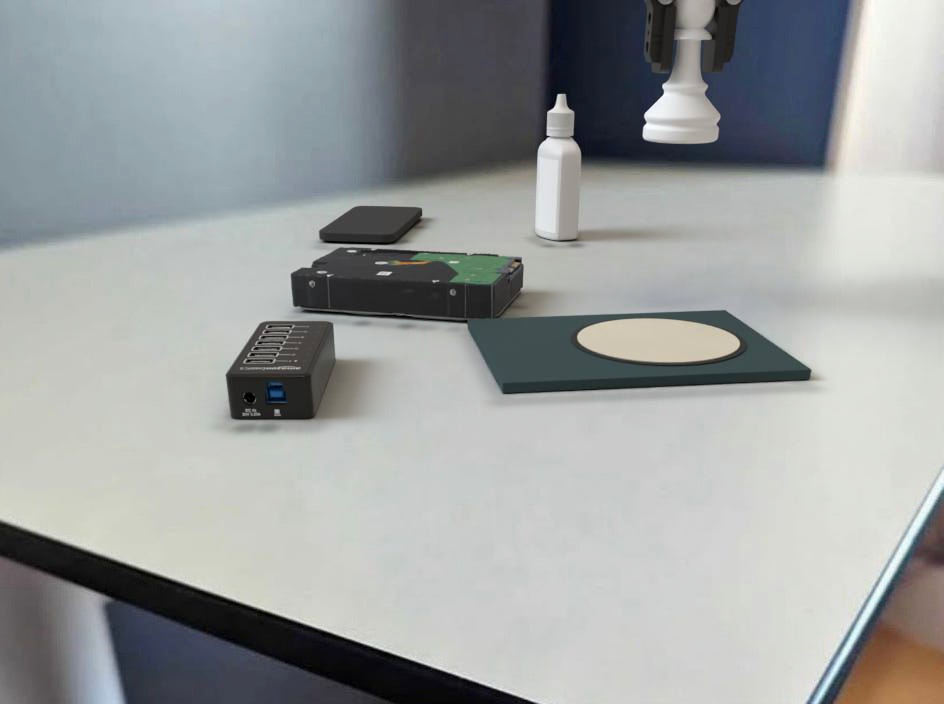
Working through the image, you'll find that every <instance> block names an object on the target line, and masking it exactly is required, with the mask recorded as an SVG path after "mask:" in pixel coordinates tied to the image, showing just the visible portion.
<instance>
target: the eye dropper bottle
mask: <svg viewBox="0 0 944 704" xmlns="http://www.w3.org/2000/svg"><path fill="white" fill-rule="evenodd" d="M567 102H568V101H567V94H566V93H558V94H557V96H556V101H555V104H554V107H553V108H551V109H550V110H548V111H547V114H546V136H548V137H546V139H545V140H543V141H542V142H541V143H540V145H539V147H538V149H537V156H536V157H537V160H536V182H535V183H536V187H535V188H536V189H535V191H536V192H535V213H534V214H535V216H534V217H535V219H534V231H535V233H536V235H537V236H539V237H541V238H543V239H546V240H551V241H573V240H576V239H577V237H578V234H579V233H578V232H579V217H580V214H579V213H580V197H581V194H580V193H581V177H582V176H581V175H582V174H581V173H582V152H581V148H580V147H579V144H578V143H577V141H575V140H574V138H573V136H574V133H575V132H574V128H575V111H574V110H573V109H570V107H568V103H567Z"/></svg>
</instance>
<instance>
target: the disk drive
mask: <svg viewBox="0 0 944 704" xmlns="http://www.w3.org/2000/svg"><path fill="white" fill-rule="evenodd" d="M522 261H523V257H522V256H511V255H499V254H497V253H496V254H495V253H476V252H474V253H468V252H455V251H435V250H432V251H431V250H411V249H395V248H394V249H393V248H392V249H391V248H373V247H354V246H352V247H351V246H350V247H343V246H341V247H337V248H336V249H334V250H332V251H331V252H328V253H327V254H325V255H324V256H320V257H319V258H317V259H315V260H313V261H312V262H311V266H310V267H300V268H298V269H297V270H295V271H292V272H290V284H291V285H290V286H291V287H290V288H291V299H292V305H293V307H294V308H300V309H303V310H309V311H320V312H334V313H344V314H345V313H346V314H352V315H364V316H385V315H387V316H388V315H389V316H390V315H391V316H393V315H396V316H406V317H412V318H417V319H427V320H428V319H430V320H444V321H459V322H460V321H462V322H463V321H464V322H465V321H468V319H491V318H496V317H499V316H500V314H501V313H502V312H503V311H504V310H505V309H506V308H507V307H508V306H509V305H510V303H511V302H512V301H513V300H514V299H515V298H516V297H517V296H518V295H519V294H520V293H521V289H522V288H523V287H524V271H525V269H524V266H525V265H524V263H523V262H522Z"/></svg>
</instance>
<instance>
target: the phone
mask: <svg viewBox="0 0 944 704" xmlns="http://www.w3.org/2000/svg"><path fill="white" fill-rule="evenodd" d="M422 217H423V207H418V206H398V205H397V206H396V205H395V206H394V205H393V206H392V205H391V206H390V205H357V206H353V207H352V208H351V209H349V210H348V211H346V212H345V213H343V214H342V215H340V216H339V217H337V218H335V219H334V220H333V221H331V222H330V223H328V224H327V225H325V226H324V227H322V228H320V229H319V231H318V236H319V237H318V239H319V240H321V241H325V242H351V243H393V242H395V241H397V240H398V239H399V238H400V237H401V236H403V234H404V233H405V232H406V231H408V230H409V229H410V228H411V227H412V226H413V225H414V224H415V223H416V222H418V221H419V220H420V219H421V218H422Z"/></svg>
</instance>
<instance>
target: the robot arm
mask: <svg viewBox="0 0 944 704" xmlns="http://www.w3.org/2000/svg"><path fill="white" fill-rule="evenodd" d="M643 2H644V3H645V5H646V22H645V31H644V34H645V35H644V44H643V56H644V60H645V62H646V63H651V72H652V73H655V74H670V72H671V70H672V64H673V63H672V62H673V52H674V41H675V40H674V31H675V29H676V26H675V20H676V9H677V6H672V2H673V0H643ZM743 2H745V0H715V4H716V5H715V12H714V16H713V18H712V20H711V21H710V23H709V24H708V25H707V26H706V27H705V29H706V30H707V31H709V32H710V34H711V35H712V39H711V40H704V45H703V46H704V48H703V57H702V72H703V73H707V74H722V72H723V70H724V67H725V66H724V64H726V63H727V64H729V63H730V62H731V60H732V57H733V55H734V53H735V52H734V51H735V50H734V49H735V42H736V33H737V27H738V18H739V9H740V7H741V5H742V4H743Z"/></svg>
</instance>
